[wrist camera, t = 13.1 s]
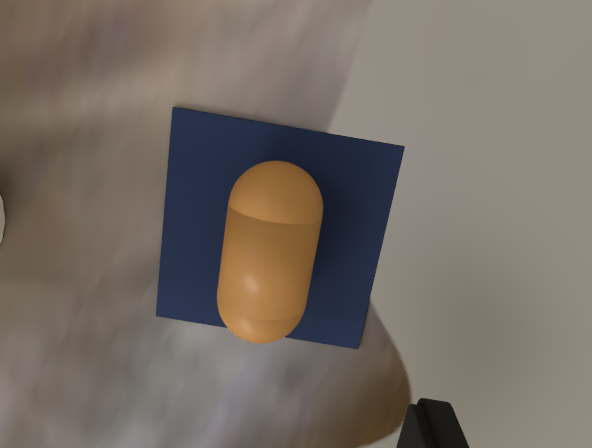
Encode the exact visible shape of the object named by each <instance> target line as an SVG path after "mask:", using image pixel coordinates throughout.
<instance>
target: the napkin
mask: <svg viewBox="0 0 592 448" xmlns="http://www.w3.org/2000/svg"><path fill="white" fill-rule="evenodd" d="M404 148H405V147H404V146H400V145H394V144H388V143H382V142H375V141H370V140H364V139H358V138H353V137H346V136H341V135H334V134H329V133H323V132H317V131H311V130H305V129H299V128H293V127H288V126H282V125H276V124H270V123H264V122H258V121H252V120H246V119H240V118H234V117H229V116H223V115H217V114H211V113H205V112H199V111H193V110H187V109H181V108H175V107H173V110H172V122H171V135H170V147H169V159H168V172H167V184H166V197H165V209H164V222H163V234H162V247H161V259H160V271H159V284H158V296H157V309H156V316H159V317H165V318H171V319H177V320H183V321H189V322H195V323H202V324H208V325H214V326H220V327H226V328H228V327H227V326H226V325H225V324H224V322H223V320H222V318H221V316H220V314H219V309H218V305H217V290H218V282H219V274H220V266H221V258H222V249H223V241H224V233H225V225H226V217H227V209H228V202H229V198H230V194H231V191H232V189H233V186H234V184H235V183H236V181H237V180H238V179H239V177H240V176H241V175H242V174H243V173H244V172H246V171H247V170H248V169H250V168H251V167H253V166H255V165H257V164H260V163H263V162H266V161H285V162H289V163H292V164H294V165H296V166H298V167H300V168H302V169H303V170H304V171H306V172H307V173H308V174H309V175H310V176H311V177H312V178H313V179H314V181H315V183H316V184H317V186H318V188H319V190H320V193H321V196H322V200H323V217H322V223H321V228H320V233H319V239H318V244H317V249H316V255H315V260H314V265H313V271H312V276H311V281H310V287H309V292H308V297H307V303H306V307H305V311H304V314H303V316H302V318H301V320H300V322H299V323H298V325H297V326H296V327H295V328H294V329H293V331H292V332H290V333H289V334H288V335H286V336H285V337H287V338H293V339H299V340H305V341H311V342H317V343H323V344H329V345H335V346H342V347H348V348H354V349H358V346H359V342H360V337H361V333H362V329H363V324H364V320H365V316H366V312H367V307H368V303H369V299H370V294H371V290H372V286H373V281H374V277H375V273H376V268H377V264H378V259H379V255H380V251H381V247H382V243H383V238H384V234H385V230H386V225H387V221H388V217H389V212H390V208H391V204H392V200H393V195H394V190H395V187H396V182H397V178H398V173H399V169H400V165H401V160H402V156H403V152H404Z"/></svg>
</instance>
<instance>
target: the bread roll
mask: <svg viewBox="0 0 592 448" xmlns="http://www.w3.org/2000/svg"><path fill="white" fill-rule="evenodd" d="M322 217H323V200H322V196H321V193H320V190H319V188H318V186H317V184H316V183H315V181H314V179H313V178H312V177H311V176H310V175H309V174H308V173H307V172H306V171H304V170H303V169H302V168H300V167H298V166H296V165H294V164H292V163H289V162H285V161H266V162H263V163H260V164H257V165H255V166H253V167H251V168H250V169H248V170H247V171H246V172H244V173H243V174H242V175H241V176H240V177H239V179H238V180H237V181H236V183H235V184H234V186H233V189H232V191H231V194H230V198H229V202H228V209H227V217H226V225H225V233H224V241H223V249H222V258H221V266H220V274H219V282H218V290H217V305H218V309H219V314H220V316H221V318H222V320H223V322H224V324H225V325H226V326H227V327H228V329H229V330H230V331H231V332H232V333H234V334H235V335H236V336H238V337H240V338H241V339H243V340H246V341H249V342H253V343H269V342H273V341H276V340H279V339H281V338H283V337H285V336H286V335H288V334H289V333H290V332H292V331H293V329H294V328H295V327H296V326H297V325H298V323H299V322H300V320H301V318H302V316H303V314H304V311H305V307H306V303H307V297H308V292H309V287H310V281H311V276H312V271H313V265H314V260H315V255H316V249H317V244H318V239H319V233H320V228H321V223H322Z"/></svg>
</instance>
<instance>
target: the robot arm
mask: <svg viewBox="0 0 592 448" xmlns="http://www.w3.org/2000/svg"><path fill="white" fill-rule="evenodd" d="M397 448H469V446H468V444H467V441H466V439H465V436H464V434H463V432H462V429H461V427H460V424H459V422H458V420H457V417H456V415H455V413H454V410H453V408H452V406H451V404H450V403H448V402H444V401H438V400H432V399H425V398H421V399H420V400H419V401H418V403H417V405H415V404H410V405H409V407H408V409H407V413H406V416H405V419H404V423H403V426H402V430H401V433H400V437H399V440H398V444H397Z"/></svg>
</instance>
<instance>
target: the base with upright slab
mask: <svg viewBox="0 0 592 448" xmlns="http://www.w3.org/2000/svg"><path fill="white" fill-rule="evenodd" d="M4 225H5V215H4V207H3V200H2V197H1V195H0V243H1V241H2V238H3V232H4Z"/></svg>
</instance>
